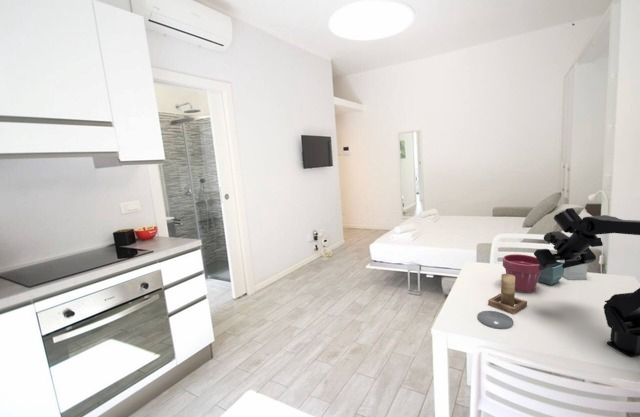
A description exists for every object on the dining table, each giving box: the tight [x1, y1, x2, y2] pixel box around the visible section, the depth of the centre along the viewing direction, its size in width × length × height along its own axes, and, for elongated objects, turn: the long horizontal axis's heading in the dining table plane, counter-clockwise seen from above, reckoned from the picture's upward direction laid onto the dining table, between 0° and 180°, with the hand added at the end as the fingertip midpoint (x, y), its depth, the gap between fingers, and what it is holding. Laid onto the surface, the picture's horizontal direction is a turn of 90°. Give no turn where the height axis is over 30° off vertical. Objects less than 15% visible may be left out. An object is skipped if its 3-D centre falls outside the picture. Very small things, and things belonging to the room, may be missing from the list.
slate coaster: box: [477, 310, 514, 330], centre depth 106 cm, size 11×11×1 cm
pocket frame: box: [487, 292, 528, 315], centre depth 115 cm, size 9×9×2 cm
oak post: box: [500, 273, 516, 307], centre depth 114 cm, size 4×4×12 cm
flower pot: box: [537, 261, 565, 286], centre depth 131 cm, size 9×9×9 cm
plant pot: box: [502, 253, 543, 293], centre depth 127 cm, size 14×14×13 cm
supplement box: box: [558, 260, 589, 281], centre depth 134 cm, size 7×7×13 cm
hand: (551, 268), depth 111 cm, fingers open, 9 cm apart
